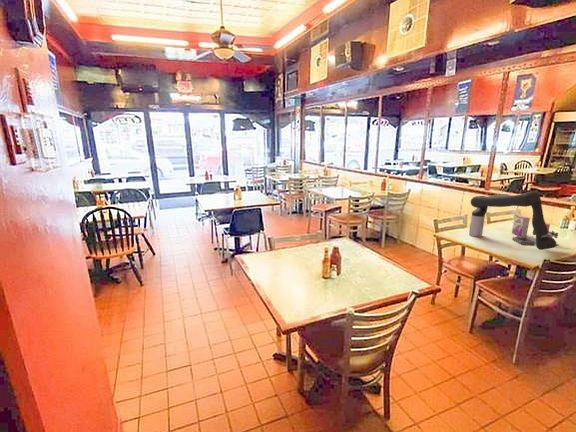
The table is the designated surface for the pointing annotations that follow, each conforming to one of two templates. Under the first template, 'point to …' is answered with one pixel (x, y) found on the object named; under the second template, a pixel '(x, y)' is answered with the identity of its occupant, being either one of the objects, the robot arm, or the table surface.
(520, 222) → the candy bar box
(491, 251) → the table surface
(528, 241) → the tie collar
